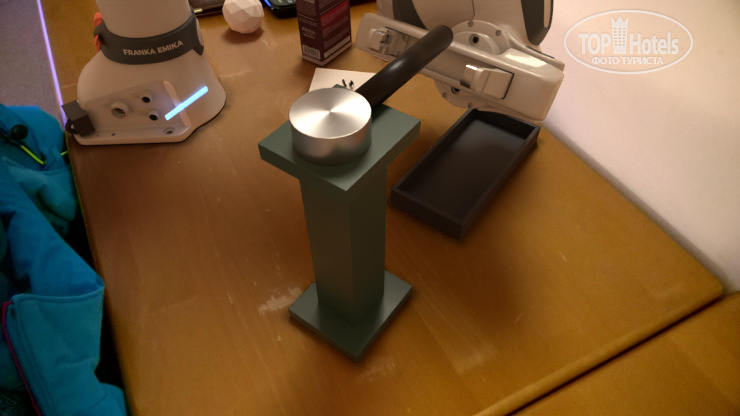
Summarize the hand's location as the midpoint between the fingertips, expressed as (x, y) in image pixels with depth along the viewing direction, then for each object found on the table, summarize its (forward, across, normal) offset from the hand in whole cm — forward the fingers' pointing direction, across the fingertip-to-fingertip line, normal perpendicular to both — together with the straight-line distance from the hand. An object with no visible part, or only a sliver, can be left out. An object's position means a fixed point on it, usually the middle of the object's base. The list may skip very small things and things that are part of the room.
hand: (419, 58), depth 42 cm
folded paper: (-28, -24, +12) cm, 39 cm away
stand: (-3, 0, +27) cm, 27 cm away
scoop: (+4, 0, +3) cm, 5 cm away
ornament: (-33, -51, +10) cm, 62 cm away
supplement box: (-36, -34, +8) cm, 50 cm away
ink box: (-44, -25, +3) cm, 51 cm away
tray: (-25, 0, +14) cm, 29 cm away
